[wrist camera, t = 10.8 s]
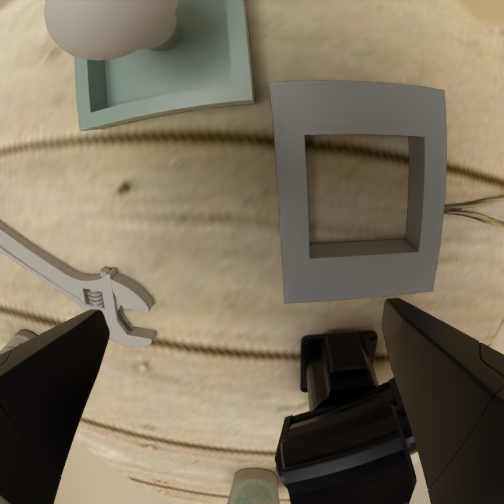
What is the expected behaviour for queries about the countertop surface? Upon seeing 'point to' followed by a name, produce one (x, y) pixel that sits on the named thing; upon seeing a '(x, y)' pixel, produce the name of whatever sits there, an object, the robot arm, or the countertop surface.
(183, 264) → the countertop surface
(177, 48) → the parts tray
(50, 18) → the lightbulb
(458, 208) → the tongs
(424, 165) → the socket board
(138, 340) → the adjustable wrench
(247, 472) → the coffee cup
